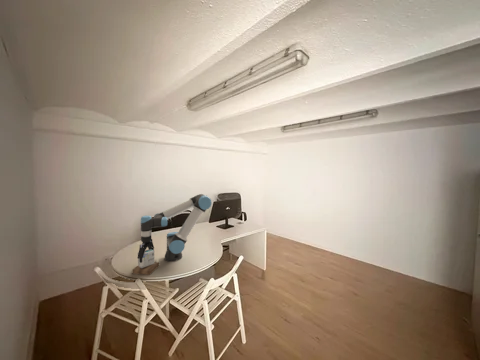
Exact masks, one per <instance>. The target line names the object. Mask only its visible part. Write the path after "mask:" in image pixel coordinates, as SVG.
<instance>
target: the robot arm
mask: <svg viewBox="0 0 480 360" xmlns="http://www.w3.org/2000/svg"><path fill="white" fill-rule="evenodd" d="M212 203H213V202H212V199H211V198H210V197H209V196H208V195H205V194H202V193H201V194H197V195H195V196H193V197H191V198H189V199H188V200H186V201H184V202H182V203H179V204H177V205H175V206H173V207H171V208H169V209H167V210H165V211H162V212H160V213H155V214H154V216H153V217H152V215H143V216H141V217H140V241H141V242H142V243H141V244H139V248H138V252H139V253H138V252H137V259H138V258H139V259H140V266H144V258H143V255H144V252H145V250H148V249H152V250H154V251H155V247H154V242H153V239H152V228H163V227H167V226H168V219H169V220H170V219H171V218H173V217H175V216H177V215H180V214H182V213H184V212H187V211H188V210H190V209H192V210H191V212H190V213H189V215H188V216H187V218H186V219H185V221H184V223H182V226H181V228H180V229H179V231H172V232H168V233H166V251H165V254H164V260H165V261H167V262H176V261H180V260H181V259H182V258H183V251H184V250H185V247H186V245H185V244H186V243H187V242H188V237H189V235H190V233H191V231H192V230H193V229H194V227H195V225H196V224H197V222H198V221H199V219H200V217H202V216H201V215H202V214H205V213H206V211H207V210H208V209H210V208H211V206H212ZM147 248H148V249H147Z"/></svg>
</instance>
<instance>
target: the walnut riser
mask: <svg viewBox="0 0 480 360" xmlns="http://www.w3.org/2000/svg"><path fill="white" fill-rule="evenodd" d="M159 267H160V262H158V261H157V262H156V261H154V264H152V265H149V266H146V267H144V268H140V267H139V266H138V265H136V266H135V267H134V268H133V269H132V271H131V272H132V274H133V275H136V274H137V275H147V276H148V275H149V276H150V275H151V274H152V273H153V272H154V271H156V270H157V269H158V268H159Z"/></svg>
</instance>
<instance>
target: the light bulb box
mask: <svg viewBox="0 0 480 360" xmlns="http://www.w3.org/2000/svg"><path fill="white" fill-rule="evenodd" d="M138 253H139V251H138V252H137V254H138ZM143 258H144V266H140V259H139V258H137V266H139V267H140V268H144V267H146V266H149V265H152V264H154V262H155V249H154V250H152V249H146V250H145V252H144V255H143Z"/></svg>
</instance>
